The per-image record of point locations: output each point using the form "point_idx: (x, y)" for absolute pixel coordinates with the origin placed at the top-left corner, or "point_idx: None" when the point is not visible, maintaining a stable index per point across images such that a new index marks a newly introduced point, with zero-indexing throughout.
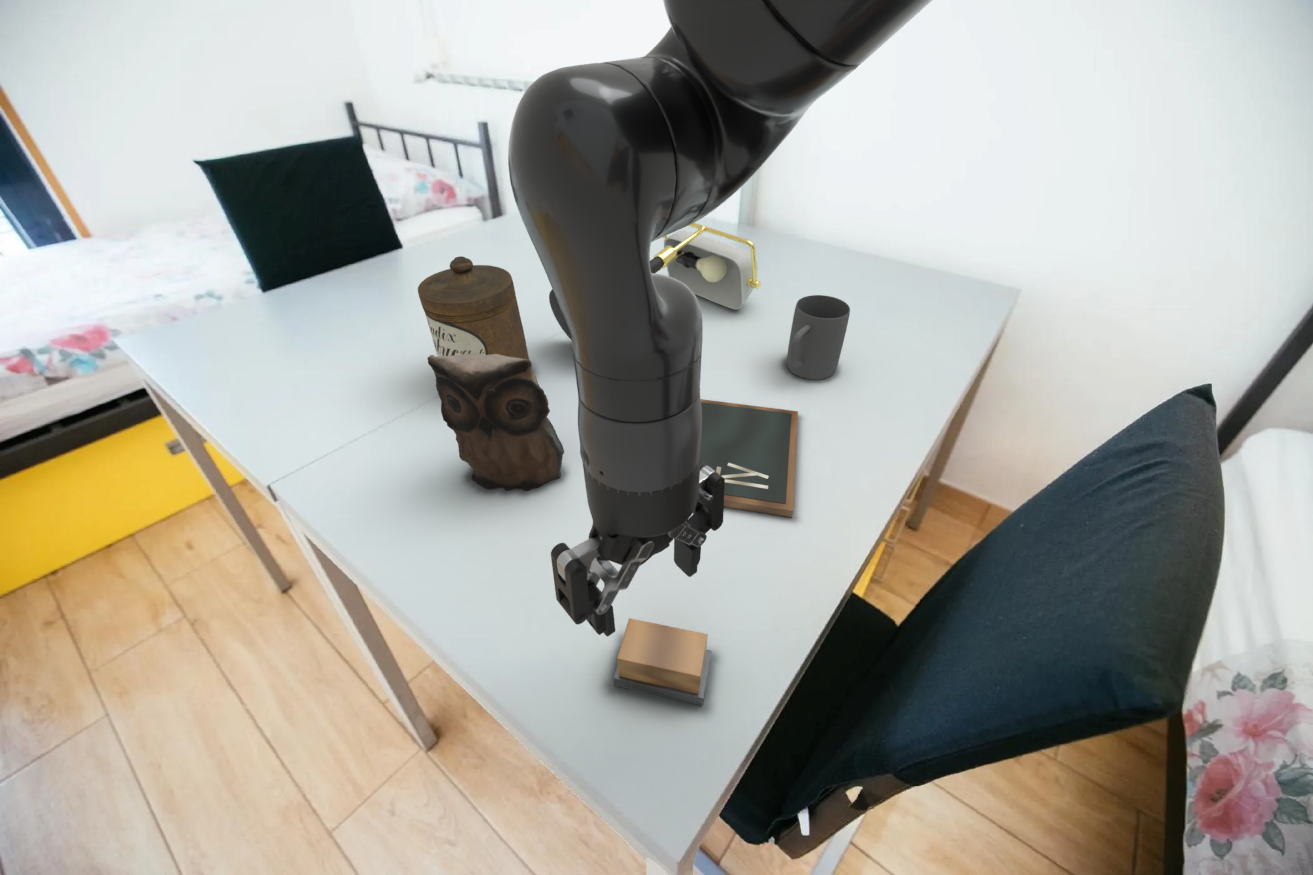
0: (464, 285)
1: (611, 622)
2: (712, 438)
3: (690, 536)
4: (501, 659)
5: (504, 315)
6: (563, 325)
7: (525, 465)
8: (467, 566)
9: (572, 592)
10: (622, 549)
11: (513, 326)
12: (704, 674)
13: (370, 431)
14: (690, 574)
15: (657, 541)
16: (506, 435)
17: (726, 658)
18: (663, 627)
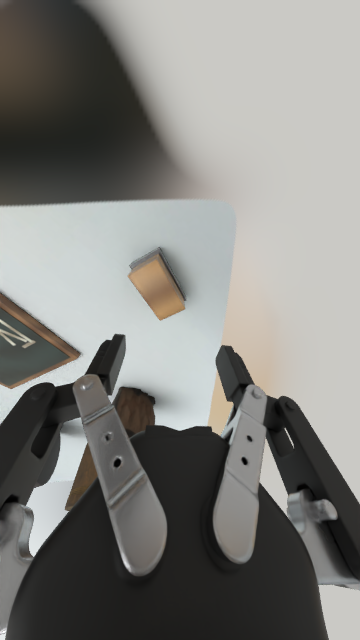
0: None
1: (233, 360)
2: (13, 362)
3: (105, 434)
4: (209, 341)
5: (86, 483)
6: (57, 448)
7: (134, 405)
8: (186, 377)
9: (351, 491)
10: (270, 539)
11: (85, 470)
12: (145, 258)
13: None
14: (123, 337)
15: (173, 473)
16: (136, 433)
17: (122, 254)
18: (148, 301)
